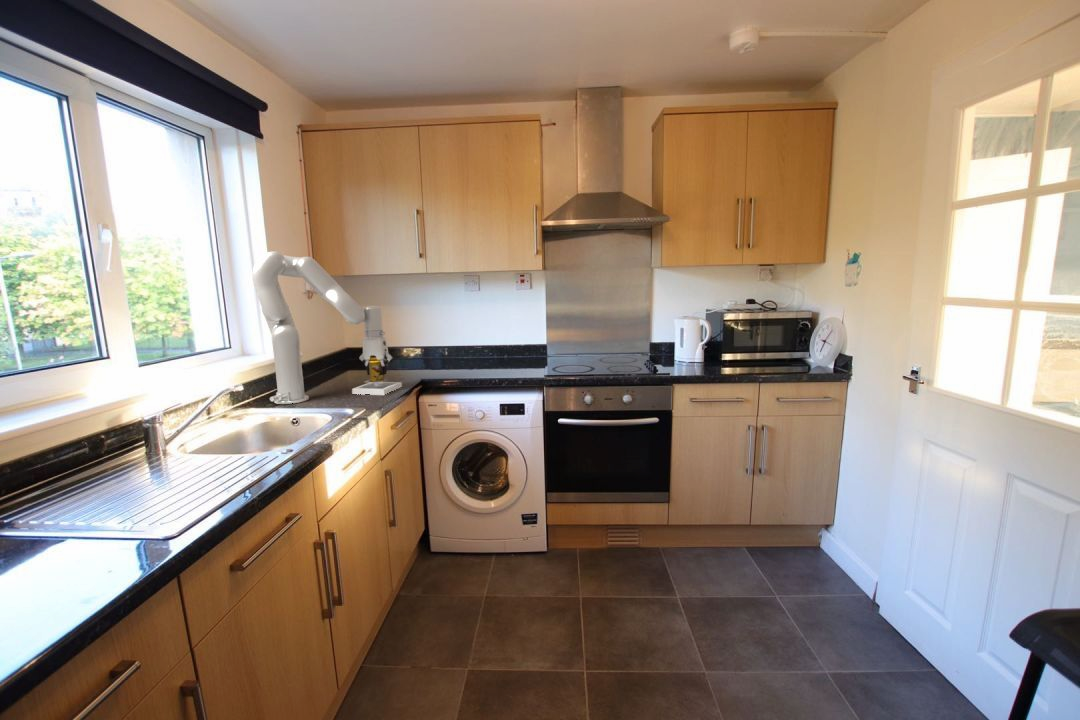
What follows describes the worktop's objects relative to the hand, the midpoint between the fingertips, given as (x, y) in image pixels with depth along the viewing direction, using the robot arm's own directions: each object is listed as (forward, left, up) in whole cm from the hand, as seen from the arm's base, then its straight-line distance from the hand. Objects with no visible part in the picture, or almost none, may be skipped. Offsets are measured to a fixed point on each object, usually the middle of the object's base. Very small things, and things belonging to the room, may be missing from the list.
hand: (376, 374), depth 205 cm
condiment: (0, +1, -3) cm, 3 cm away
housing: (0, 0, -8) cm, 8 cm away
